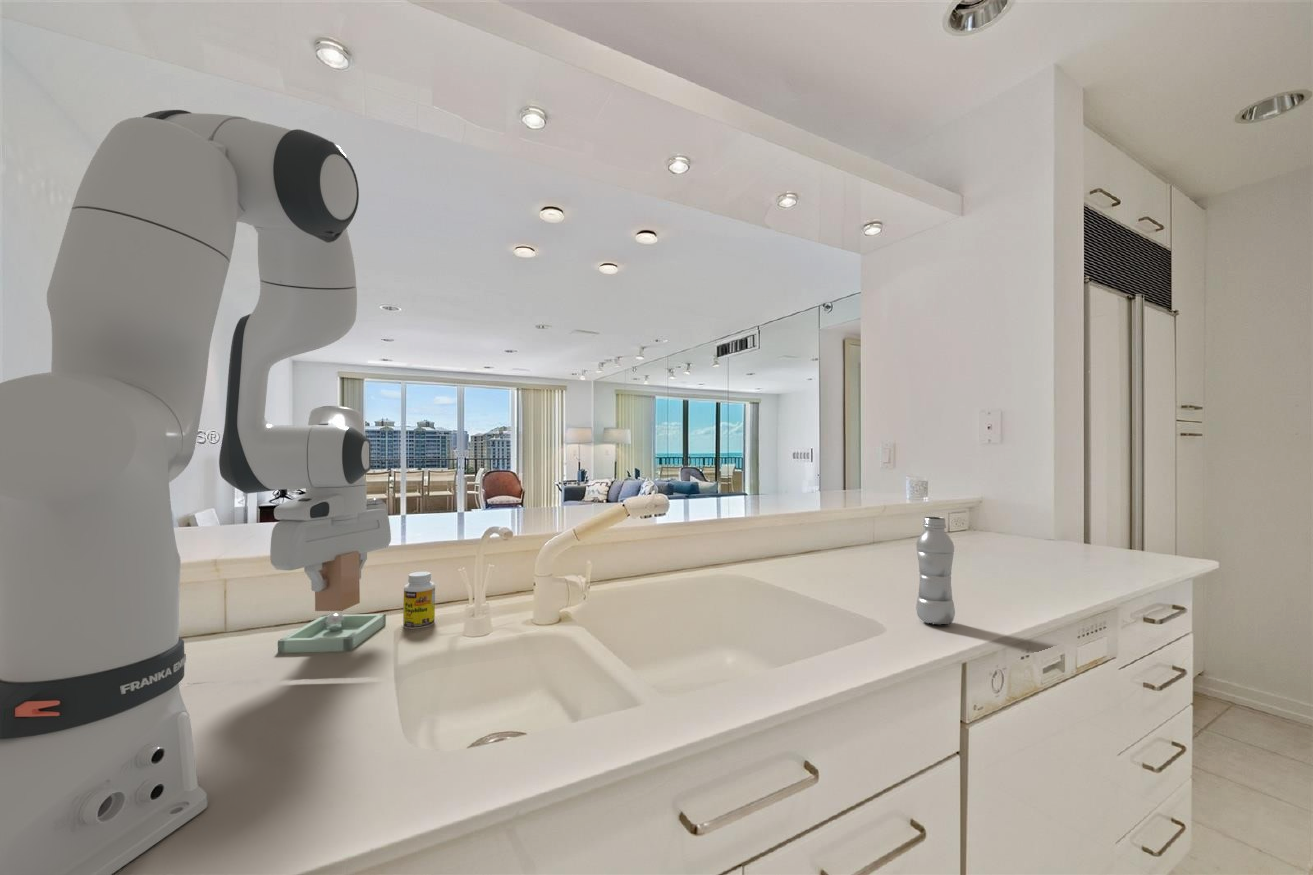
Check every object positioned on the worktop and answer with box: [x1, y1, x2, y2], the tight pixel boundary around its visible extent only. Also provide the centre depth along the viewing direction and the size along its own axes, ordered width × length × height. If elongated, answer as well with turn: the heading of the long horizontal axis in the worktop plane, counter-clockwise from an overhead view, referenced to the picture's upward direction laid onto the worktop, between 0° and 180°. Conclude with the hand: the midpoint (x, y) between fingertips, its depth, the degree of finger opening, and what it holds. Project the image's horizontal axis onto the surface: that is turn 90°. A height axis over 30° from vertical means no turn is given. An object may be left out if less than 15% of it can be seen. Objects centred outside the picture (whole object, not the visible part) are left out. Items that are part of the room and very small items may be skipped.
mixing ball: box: [325, 612, 345, 631], centre depth 93 cm, size 3×3×3 cm
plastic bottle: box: [915, 516, 956, 625], centre depth 100 cm, size 6×7×20 cm
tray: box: [277, 613, 387, 654], centre depth 90 cm, size 13×11×2 cm
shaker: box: [314, 551, 361, 612], centre depth 88 cm, size 5×5×10 cm
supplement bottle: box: [402, 571, 436, 629], centre depth 97 cm, size 5×5×10 cm
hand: (337, 585), depth 88 cm, fingers closed on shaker, 5 cm apart
